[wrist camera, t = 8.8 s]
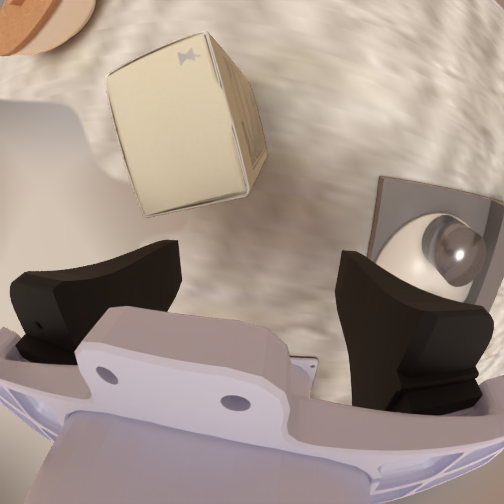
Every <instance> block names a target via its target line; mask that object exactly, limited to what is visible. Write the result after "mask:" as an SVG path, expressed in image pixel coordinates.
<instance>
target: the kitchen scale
mask: <svg viewBox="0 0 504 504" xmlns="http://www.w3.org/2000/svg"><path fill="white" fill-rule="evenodd" d="M441 215H450V216H453V217H454V218H456V219H457V220H459V221H460V222H462V223H463V224H465V225H466V226H468V227H469V228H471V229H472V230H474V231H475V232H476V233H478V234H479V235H481V236H482V238H483V239H484V241H485V244H486V259H485V262H484V265H483V267H482V269H481V271H480V273H479V274H478V275H477V277H476V278H475V279H474V280H473V281H471V282H470V283H469V284H467V285H464V286H461V287H454V286H451V285H450V284H449V283H448V282H447V281H446V280H445V279H444V278H443V277H442V275H441V274H440V273H439V272H438V271H437V270H436V269H435V267H434V266H433V265H432V264H431V263H430V262H429V261H428V260H427V259H426V257H425V256H424V254H423V251H422V237H423V234H424V231H425V229H426V228H427V226H428V225H429V223H430V222H431V221H432V220H434V219H435V218H436V217H438V216H441ZM367 258H368V259H370V260H371V261H373V262H374V263H376V264H377V265H379V266H380V267H382V268H383V269H385V270H386V271H388V272H389V273H391V274H393V275H394V276H396V277H398V278H399V279H401V280H403V281H405V282H407V283H409V284H411V285H413V286H415V287H417V288H420V289H422V290H424V291H427V292H429V293H432V294H435V295H438V296H441V297H444V298H447V299H451V300H455V301H458V302H463V303H469V304H474V305H480V306H483V307H484V308H485V309H486V310H487V312H488V313H489V311H490V309H491V307H492V304H493V302H494V300H495V297H496V295H497V293H498V291H499V290H500V287H501V282H502V280H503V277H504V202H502V201H499V200H495V199H491V198H488V197H484V196H480V195H476V194H472V193H468V192H463V191H459V190H455V189H450V188H445V187H441V186H436V185H430V184H425V183H420V182H414V181H408V180H402V179H396V178H390V177H383V176H380V177H379V186H378V194H377V201H376V208H375V215H374V221H373V227H372V233H371V239H370V244H369V249H368V255H367Z"/></svg>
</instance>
